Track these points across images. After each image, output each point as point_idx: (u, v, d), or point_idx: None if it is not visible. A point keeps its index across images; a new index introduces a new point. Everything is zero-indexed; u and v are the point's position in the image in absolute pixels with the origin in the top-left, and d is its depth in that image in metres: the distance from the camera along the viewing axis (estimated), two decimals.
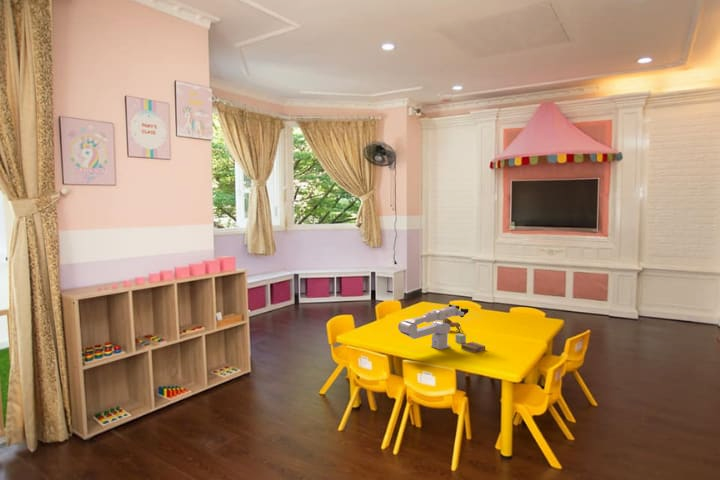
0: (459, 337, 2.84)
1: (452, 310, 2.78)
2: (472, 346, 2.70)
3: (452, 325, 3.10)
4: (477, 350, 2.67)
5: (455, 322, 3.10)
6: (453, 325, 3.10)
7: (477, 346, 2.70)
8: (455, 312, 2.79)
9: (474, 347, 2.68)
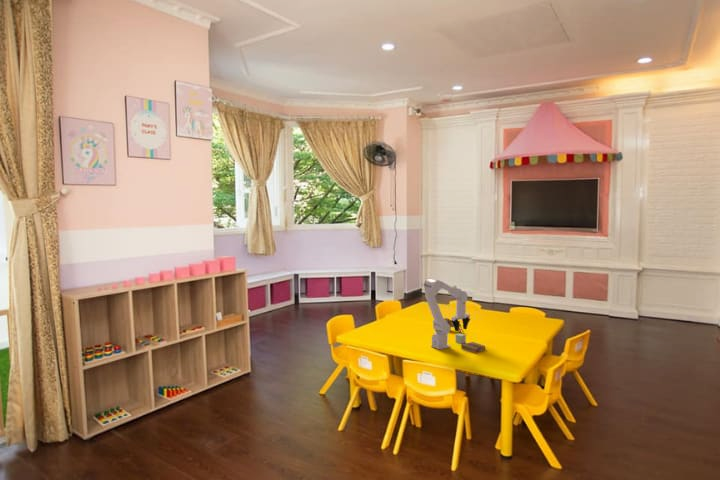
0: (459, 337, 2.84)
1: (460, 312, 2.82)
2: (472, 346, 2.70)
3: (453, 325, 3.10)
4: (477, 350, 2.67)
5: None
6: None
7: (477, 346, 2.70)
8: (458, 315, 2.83)
9: (474, 347, 2.68)
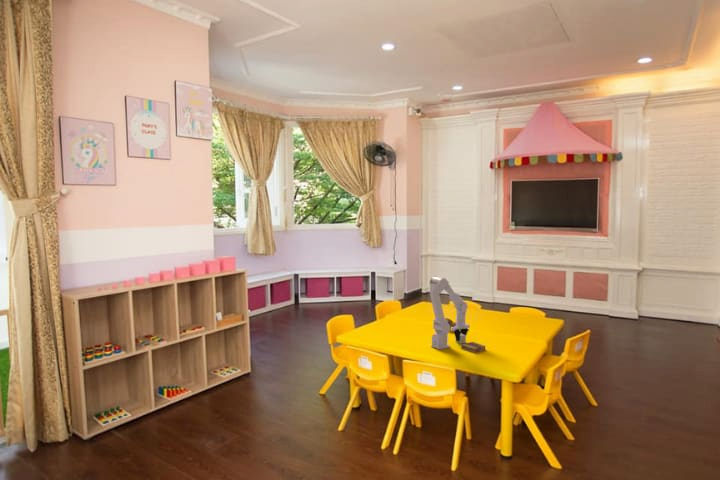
0: None
1: (460, 322, 2.83)
2: (472, 346, 2.70)
3: (453, 325, 3.10)
4: (477, 350, 2.67)
5: None
6: (454, 325, 3.10)
7: (477, 346, 2.70)
8: (457, 325, 2.84)
9: (474, 347, 2.68)
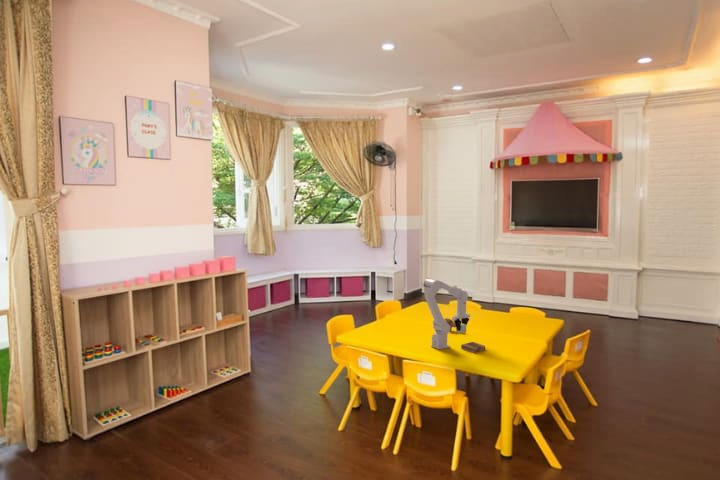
0: None
1: (461, 311, 2.81)
2: (472, 346, 2.70)
3: (454, 325, 3.10)
4: (477, 350, 2.67)
5: None
6: (455, 325, 3.09)
7: (477, 346, 2.70)
8: (458, 314, 2.83)
9: (474, 347, 2.68)
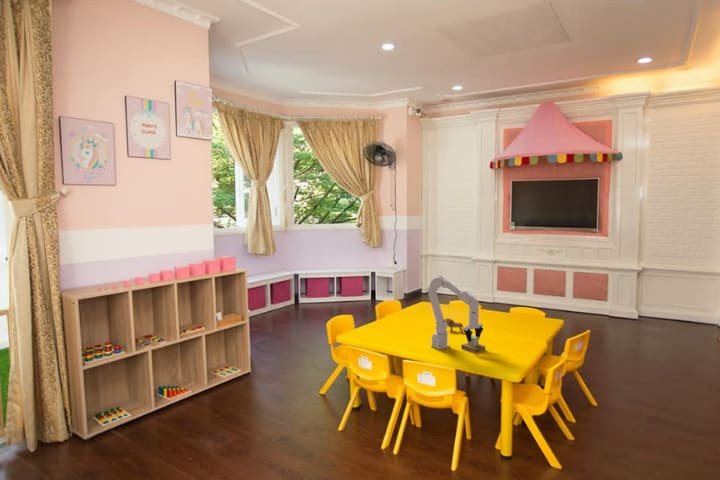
0: (472, 339, 2.70)
1: (473, 321, 2.68)
2: (472, 346, 2.70)
3: (455, 325, 3.09)
4: (477, 350, 2.67)
5: None
6: (456, 325, 3.09)
7: (477, 346, 2.70)
8: (470, 324, 2.70)
9: (474, 347, 2.68)
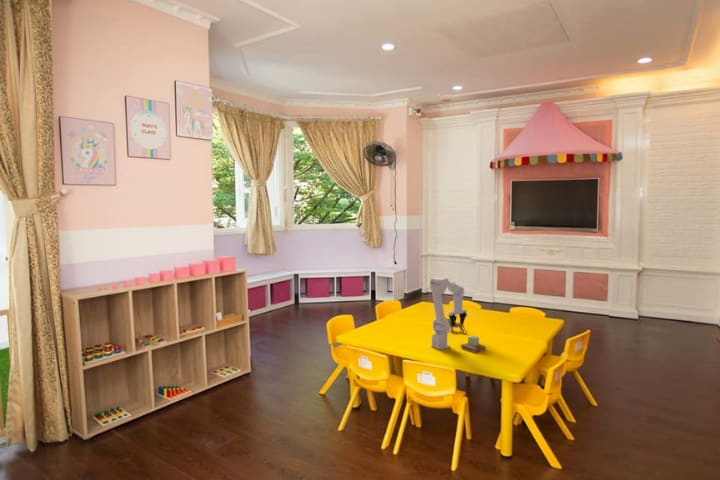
0: (472, 339, 2.70)
1: (457, 307, 2.89)
2: (472, 346, 2.70)
3: (455, 325, 3.09)
4: (477, 350, 2.67)
5: None
6: (456, 325, 3.09)
7: (477, 346, 2.70)
8: (455, 310, 2.90)
9: (474, 347, 2.68)
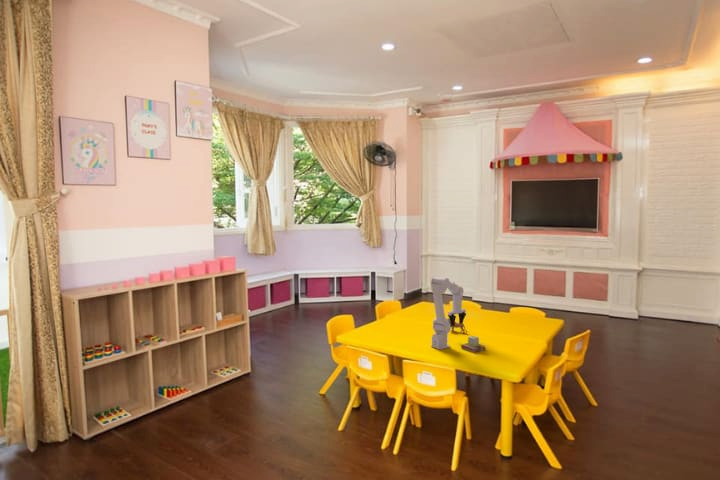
0: (472, 340, 2.70)
1: (456, 307, 2.90)
2: None
3: (456, 326, 3.09)
4: (477, 350, 2.67)
5: (459, 323, 3.08)
6: (457, 326, 3.08)
7: (477, 346, 2.70)
8: (454, 309, 2.91)
9: (474, 347, 2.68)
